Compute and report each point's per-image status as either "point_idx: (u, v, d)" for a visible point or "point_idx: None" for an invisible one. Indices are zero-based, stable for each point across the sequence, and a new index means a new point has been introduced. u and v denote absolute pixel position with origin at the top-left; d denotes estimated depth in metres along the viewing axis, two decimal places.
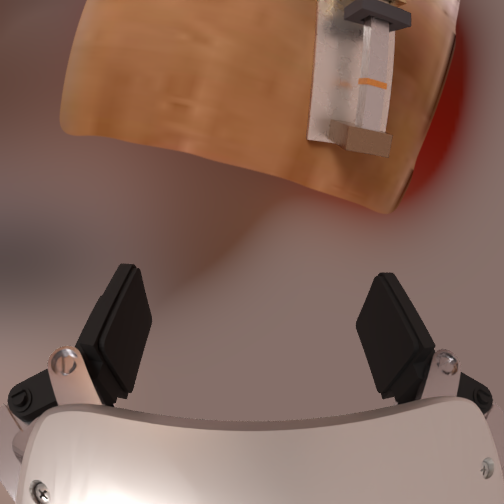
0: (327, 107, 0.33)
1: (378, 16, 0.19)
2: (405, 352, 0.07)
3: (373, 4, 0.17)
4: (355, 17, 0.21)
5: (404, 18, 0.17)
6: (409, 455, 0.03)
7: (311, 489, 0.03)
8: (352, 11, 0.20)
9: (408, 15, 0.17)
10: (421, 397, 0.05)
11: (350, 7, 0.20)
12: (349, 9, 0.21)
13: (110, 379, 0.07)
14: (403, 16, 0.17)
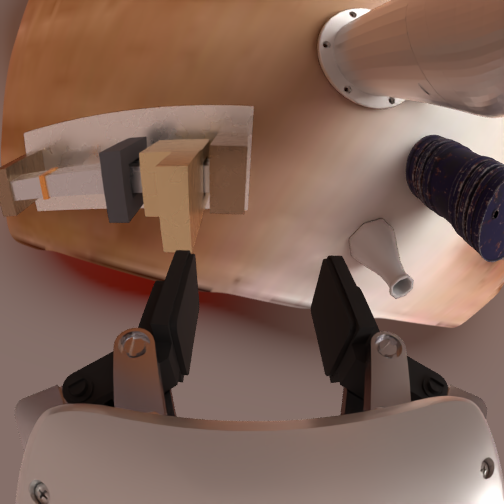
0: (49, 143, 0.25)
1: None
2: (344, 332, 0.08)
3: (111, 167, 0.19)
4: None
5: (114, 212, 0.21)
6: (409, 455, 0.03)
7: (311, 489, 0.03)
8: (119, 144, 0.21)
9: (123, 218, 0.22)
10: (371, 391, 0.06)
11: (130, 141, 0.22)
12: (130, 141, 0.22)
13: (175, 360, 0.08)
14: (117, 211, 0.21)
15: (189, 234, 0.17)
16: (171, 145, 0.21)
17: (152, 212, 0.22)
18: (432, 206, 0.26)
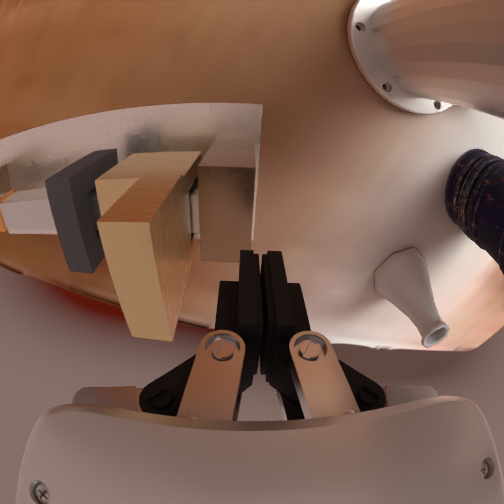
0: (13, 156, 0.18)
1: None
2: (267, 329, 0.08)
3: (61, 201, 0.12)
4: None
5: (74, 259, 0.15)
6: (409, 455, 0.03)
7: (311, 489, 0.03)
8: (77, 162, 0.14)
9: (85, 267, 0.15)
10: (307, 403, 0.06)
11: (92, 158, 0.15)
12: (92, 157, 0.15)
13: None
14: (76, 258, 0.15)
15: (165, 320, 0.11)
16: (144, 164, 0.14)
17: None
18: (476, 238, 0.19)
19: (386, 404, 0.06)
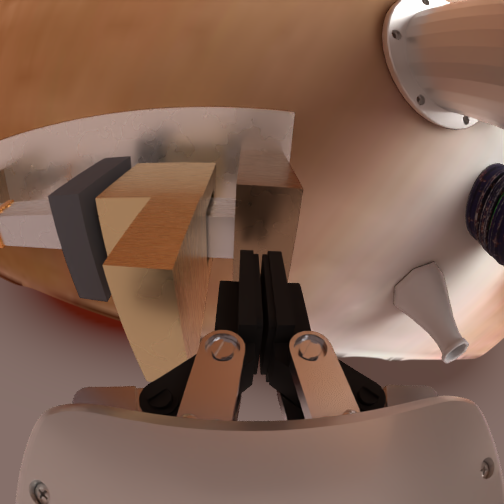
0: (11, 160, 0.17)
1: None
2: (267, 329, 0.08)
3: (69, 220, 0.11)
4: None
5: (85, 286, 0.13)
6: (409, 455, 0.03)
7: (311, 489, 0.03)
8: (85, 173, 0.13)
9: (98, 295, 0.13)
10: (307, 403, 0.06)
11: (103, 167, 0.13)
12: (103, 166, 0.13)
13: None
14: (88, 285, 0.13)
15: None
16: (152, 178, 0.13)
17: None
18: (496, 255, 0.18)
19: (386, 404, 0.06)
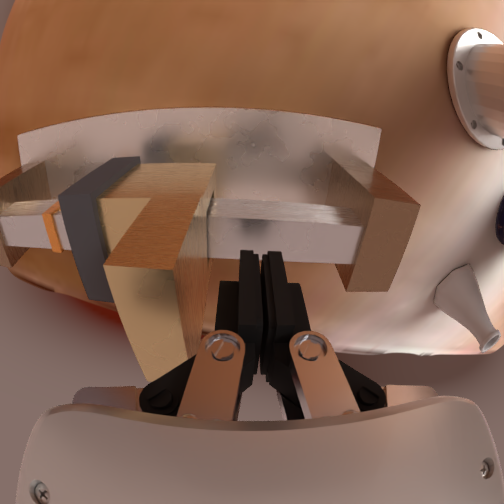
0: (56, 151, 0.17)
1: None
2: (267, 329, 0.08)
3: (80, 221, 0.11)
4: None
5: (94, 288, 0.13)
6: (409, 455, 0.03)
7: (311, 489, 0.03)
8: (95, 172, 0.13)
9: (108, 297, 0.13)
10: (307, 403, 0.06)
11: (113, 167, 0.13)
12: (113, 166, 0.14)
13: None
14: (98, 287, 0.13)
15: None
16: (152, 178, 0.13)
17: None
18: None
19: (386, 404, 0.06)
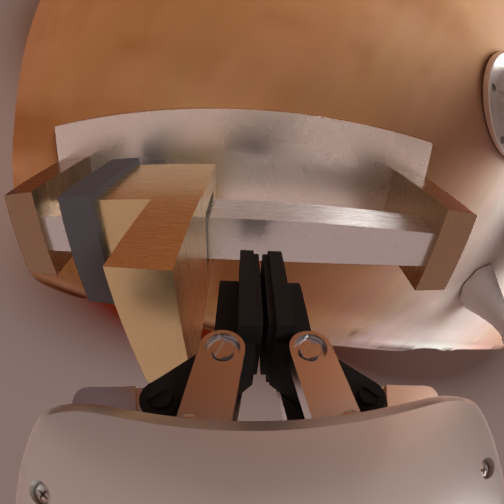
0: (105, 146, 0.17)
1: None
2: (267, 329, 0.08)
3: (79, 222, 0.11)
4: None
5: (94, 289, 0.13)
6: (409, 455, 0.03)
7: (311, 489, 0.03)
8: (94, 174, 0.13)
9: (108, 298, 0.13)
10: (307, 403, 0.06)
11: (113, 169, 0.13)
12: (112, 167, 0.14)
13: None
14: (98, 288, 0.13)
15: None
16: (152, 180, 0.13)
17: None
18: None
19: (386, 404, 0.06)
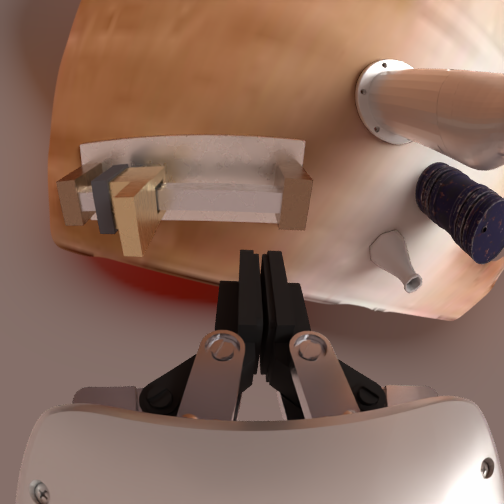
0: (110, 157, 0.32)
1: None
2: (267, 329, 0.08)
3: (100, 192, 0.25)
4: None
5: (104, 226, 0.27)
6: (409, 455, 0.03)
7: (311, 489, 0.03)
8: (106, 172, 0.27)
9: (110, 230, 0.28)
10: (307, 403, 0.06)
11: (115, 169, 0.28)
12: (114, 169, 0.28)
13: None
14: (106, 225, 0.27)
15: (139, 243, 0.23)
16: (133, 174, 0.27)
17: None
18: (436, 221, 0.34)
19: (386, 404, 0.06)
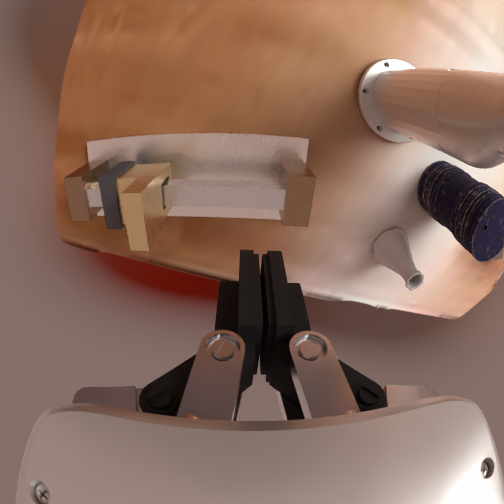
0: (117, 154, 0.33)
1: None
2: (267, 329, 0.08)
3: (107, 188, 0.26)
4: None
5: (111, 221, 0.28)
6: (409, 455, 0.03)
7: (311, 489, 0.03)
8: (113, 168, 0.28)
9: (117, 226, 0.29)
10: (307, 403, 0.06)
11: (122, 166, 0.29)
12: (121, 165, 0.29)
13: None
14: (112, 220, 0.28)
15: (146, 238, 0.24)
16: (139, 170, 0.28)
17: None
18: (438, 219, 0.34)
19: (386, 404, 0.06)
